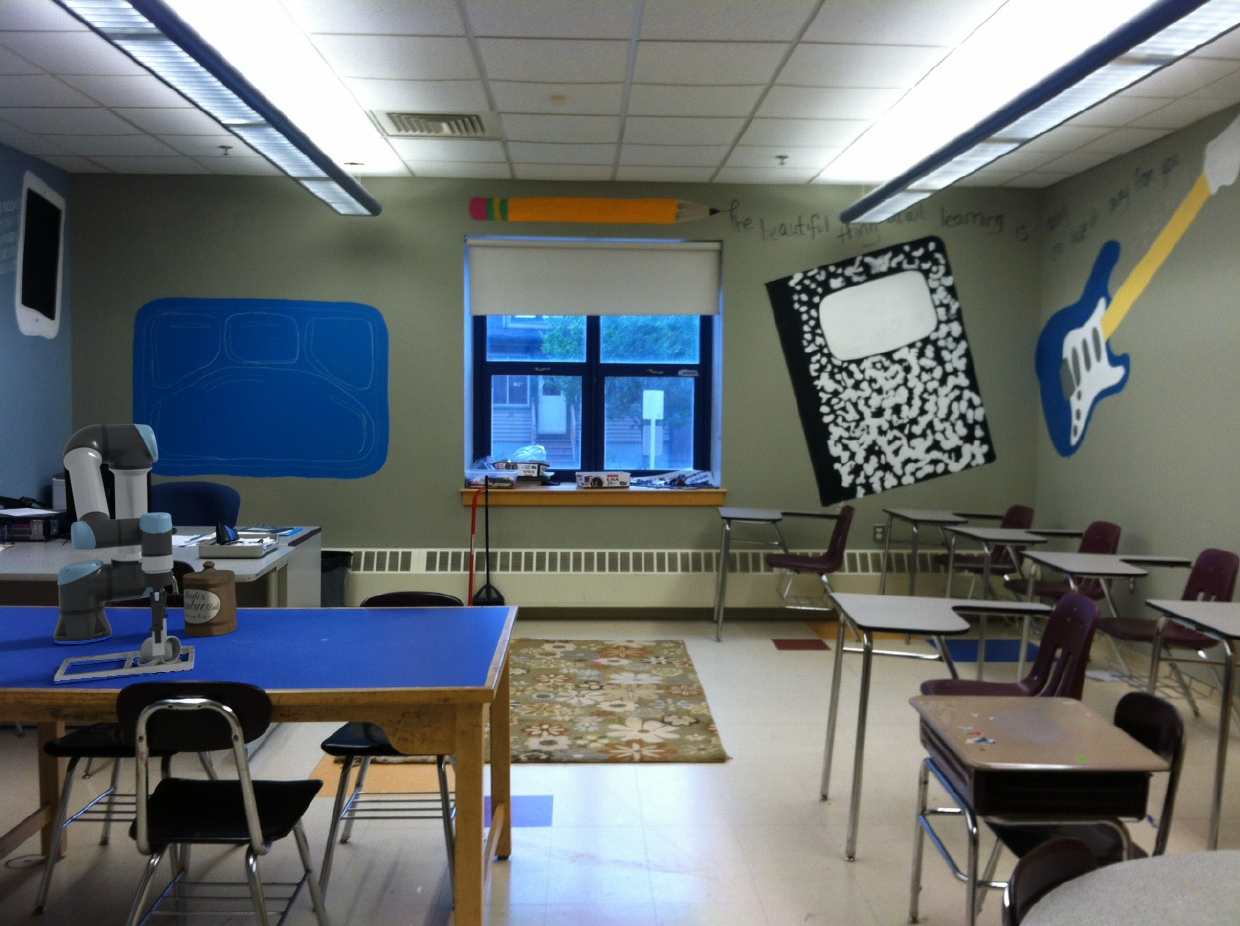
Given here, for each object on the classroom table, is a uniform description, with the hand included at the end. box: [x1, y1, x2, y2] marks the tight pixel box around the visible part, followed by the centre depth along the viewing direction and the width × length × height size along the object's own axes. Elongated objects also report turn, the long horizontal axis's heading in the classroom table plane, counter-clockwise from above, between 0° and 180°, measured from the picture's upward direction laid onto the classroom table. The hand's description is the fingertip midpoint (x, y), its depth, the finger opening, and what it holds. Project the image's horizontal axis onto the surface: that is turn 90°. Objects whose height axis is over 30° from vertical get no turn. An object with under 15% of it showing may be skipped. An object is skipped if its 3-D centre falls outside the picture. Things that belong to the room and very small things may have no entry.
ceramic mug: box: [136, 635, 182, 667], centre depth 238 cm, size 10×8×7 cm
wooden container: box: [182, 560, 238, 638], centre depth 275 cm, size 15×15×22 cm
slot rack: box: [53, 644, 196, 681], centre depth 236 cm, size 19×31×2 cm, turn 115°
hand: (160, 648), depth 239 cm, fingers open, 13 cm apart
